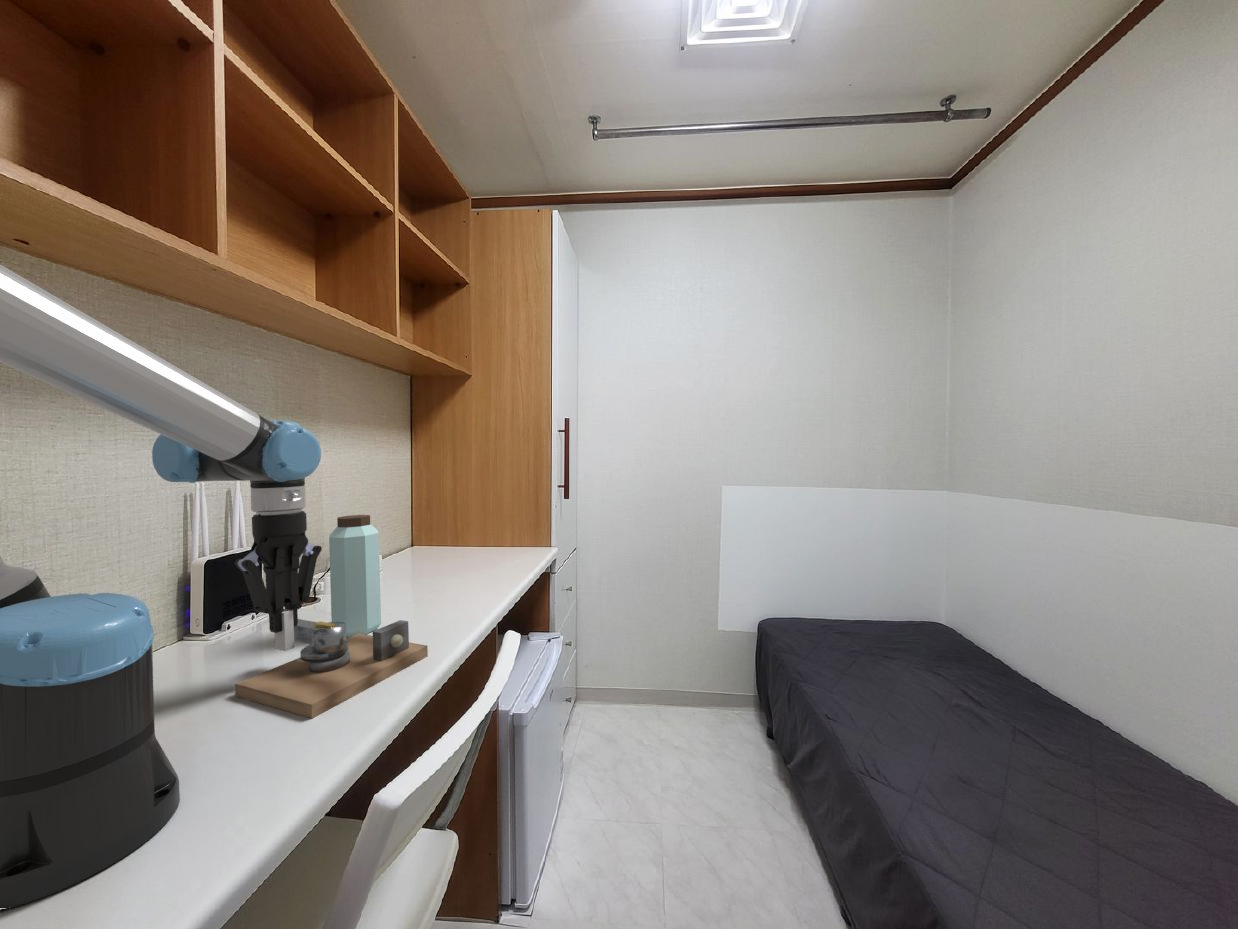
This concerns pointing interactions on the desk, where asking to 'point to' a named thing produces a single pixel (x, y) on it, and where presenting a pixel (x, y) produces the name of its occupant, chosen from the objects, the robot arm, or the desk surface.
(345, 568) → the water bottle
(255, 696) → the rotary lever board
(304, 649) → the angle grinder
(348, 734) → the desk surface
